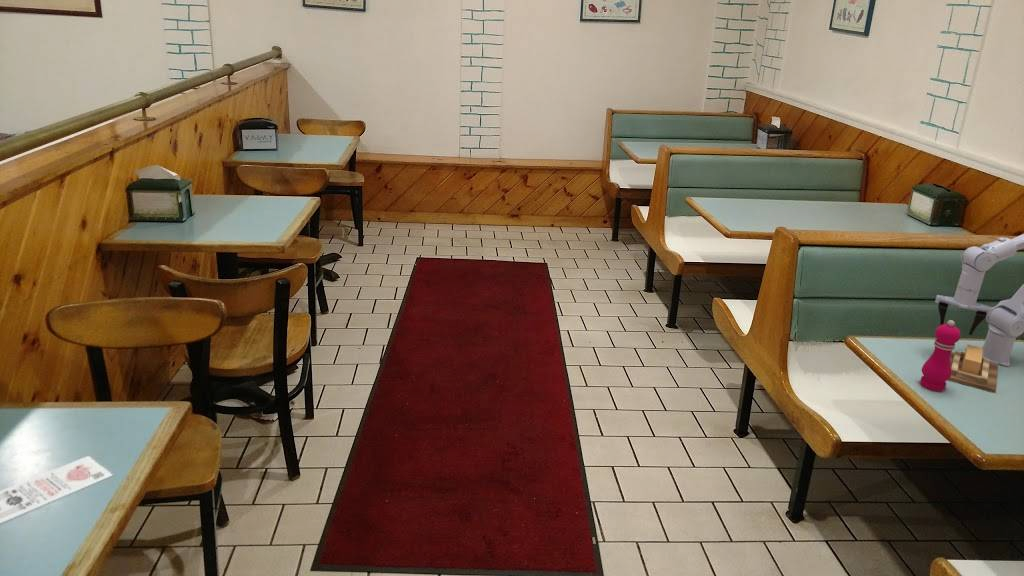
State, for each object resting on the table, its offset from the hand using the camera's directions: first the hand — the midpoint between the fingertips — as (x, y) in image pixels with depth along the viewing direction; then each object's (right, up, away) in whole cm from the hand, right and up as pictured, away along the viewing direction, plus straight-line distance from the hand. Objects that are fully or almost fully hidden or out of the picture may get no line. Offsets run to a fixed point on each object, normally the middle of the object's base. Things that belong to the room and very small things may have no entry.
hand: (955, 330), depth 225 cm
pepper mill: (-15, -15, -14) cm, 25 cm away
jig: (+1, -12, -4) cm, 13 cm away
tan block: (+1, -11, -4) cm, 12 cm away
